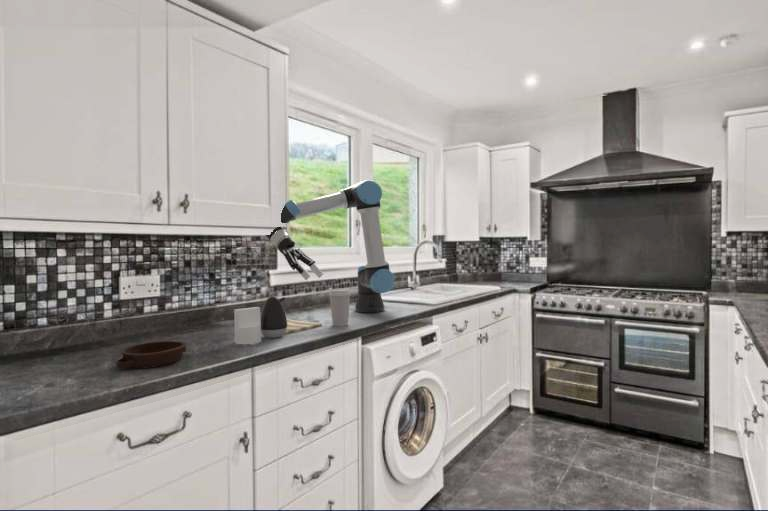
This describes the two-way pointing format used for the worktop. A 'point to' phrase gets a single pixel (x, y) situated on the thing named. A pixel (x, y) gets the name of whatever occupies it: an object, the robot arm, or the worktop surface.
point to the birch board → (299, 326)
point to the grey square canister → (247, 325)
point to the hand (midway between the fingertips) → (315, 277)
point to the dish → (151, 354)
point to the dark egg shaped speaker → (273, 318)
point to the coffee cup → (340, 306)
